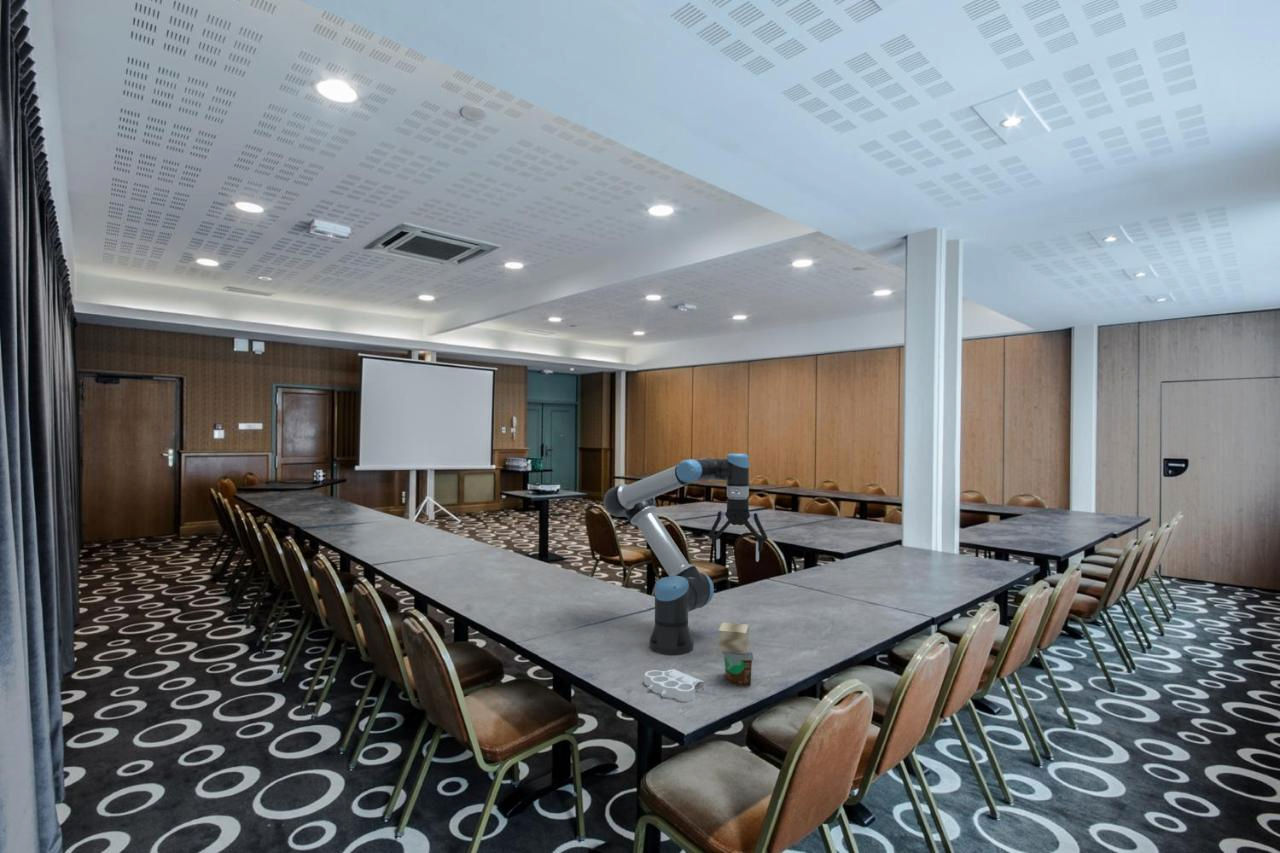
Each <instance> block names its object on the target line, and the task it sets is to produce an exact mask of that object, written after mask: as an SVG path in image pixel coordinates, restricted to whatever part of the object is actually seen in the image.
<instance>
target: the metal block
mask: <svg viewBox="0 0 1280 853" xmlns="http://www.w3.org/2000/svg"><path fill="white" fill-rule="evenodd" d="M749 626H750V625H749V624H745V623H744V624H743V623H733V622H721V624H720V627H719V628H718V651H719V652H722V651H725V652H735V653H745V654H746V652H748V648H749V644H750V643H749V640H750V639H749V636H750V635H749V628H750V627H749Z"/></svg>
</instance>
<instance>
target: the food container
mask: <svg viewBox="0 0 1280 853" xmlns="http://www.w3.org/2000/svg"><path fill="white" fill-rule="evenodd" d="M721 653H722V655H724V668H725V669H724V670H725V680H726V681H727V682H728V683H729V684H732V685H735V686H742V687H745V686H746V687H747V686H751V682H752V680H751V679H752V667H753V665H752V664H753V663H752V662H753V660H754V655H753V652H752V651H751V652H748V651H746V654H745V653H735V652H725V651H721Z"/></svg>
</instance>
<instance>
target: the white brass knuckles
mask: <svg viewBox="0 0 1280 853" xmlns="http://www.w3.org/2000/svg"><path fill="white" fill-rule="evenodd" d="M643 678H644V683H643V684H645V685H647V686H646V687H647V689H649V690H650V691H651V690H652V691H653V692H657V693H659V694H658V695H660V694H661V695H660V696H661V697H662V696H664V697H663V698H665V697H669V698H668V699H672V698H675V699H674V700H676V699H677V700H676V701H678V700H679V701H678V702H680V701H688V702H691V700H692V701H694V699H695V698H696V697H695V696H696V695H695V694H696V693H697V692H699V691H701V690H702V689H704V688H705V685H706V684H705V681H703V679H698V678H696V677H694V676H691V675H689V674H687V673H684V672H682V671H679V670H678V669H674V668H672V669H668V670H660V669H659V670H658V669H657V670H656V669H654V670H647V671H645V673H644V677H643ZM645 685H644V686H645ZM648 686H649V687H648ZM652 691H651V692H652ZM653 692H652V693H653ZM657 693H656V694H657Z"/></svg>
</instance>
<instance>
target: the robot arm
mask: <svg viewBox="0 0 1280 853" xmlns="http://www.w3.org/2000/svg"><path fill="white" fill-rule="evenodd" d="M749 460H750V459H749V456H748V454H747V453H728V454H727V455H726V458H710V457H704V458H698V459H697V458H696V459H691V458H689V459H684V460H682V461H680V462H679V463H678V464H677V465H674V466H672V467H669V468H667V469H665V470H662V471H659V472H657V473H655V474H653V475H650V476H648V477H644V478H642V479H640V480H637V481H634V482H632V483H630V484H626V483H622V484H620V485H618V486H614V487H611V488H610V489H608V491H606V492H605V495H604V498H603V506H604V509H605V510H606V512H607V513H609V514H610V515H611V516H613V517H618V518H619V517H620V518H621V517H626V518H627V519H628V521H629V523H630V524H631V525H634V526H636V527H637V528H638V529H639V531H640V533H641V534H642V536H643V537H644V539H645V540H646V542H647V544H648V545H649V547H650V548H651V550H652V552H653V553H654V555H655V557H657V559H658V560H659V563H660V564H661V566H662V567H663V569H664V570H665V572H666V573H667V575H668V576H665V577H662V578H659V579H658V580H657V581H656V582H655V585H654V593H653V594H654V595H653V596H654V626H653V629H652V632H651V636H650V638H649V649H650V650H652V651H653V652H654V653H655V652H656V653H659V654H662V655H671V656H672V655H684V654H688V653H689V652H692V651H693V649H694V639H693V637H692V633H691V629H690V626H689V612H691V611H692V612H693V611H694V610H697V609H701V608H703V607H705V606H706V605H708V604H709V603H710V602H711V601H712V599H713V597H714V590H715V588H714V583H713V581H712V579H711V577H710V576H709V575H707V574H706V573H702V572H700V571H699V570H698V569H697V566H696V565H695V564H689V562H688V560H687V559H686V558H685V556H684V555H683V553H682V552H681V550H680V548H679V547H678V545H677V544H676V543H675V540H673V538H672V536H671V535H670V533H669V532H668V530H667V529H666V527H665V526H664V524H663V523H662V521H661V520H660V518H659V517H658V515H657V514H656V511H657V507H656V501H655V499H656V497H658V496H661V495H663V494H666V493H668V492H672V491H674V490H677V489H680V488H682V487H684V486H687V485H690V484H693V483H696V482H703V481H717V480H718V481H726V497H727V499H726V511H722V510H718V511H717V515H716V516H717V517H716V519H715V521H714V523H713V525H712V527H711V528H710V531H709V533H708V535H707V537H708V538H710V539H712V540H713V549H715V550H716V552H715V553H716V554H715V556H716V560H719V559H720V558H721V539H720V538H719V537H720V536H721V535H722V534H723V532H724V531H725V530H726V529H727V528H728V527H729V526H730V524H731V525H733V526H743V525H744V526H745V527H746V528H747V529H748V531H749V532H750V533H751V534H752V535H753V537H754V538H755V539H756V541H755V562H759V560H760V552H762V550H763V542H766V541H767V540H768V538H769V537H768V535H767V533H766V531H765V529H764V526H763V525H762V523H761V521H760V518H759V513H758V512H753V513H750V511H749V510H750V505H749V504H750V502H749V501H750V499H749V496H750V495H749V493H750V491H749V490H750V485H749V484H750V483H749V482H750V481H749V478H750V477H749V476H750V475H749V474H750V473H749V472H750V471H749V470H750V463H749ZM724 517H726V519H727V521H726V522H725V523H724V525H723V526H721V528H720V529H719V530H718V531H717V532H716V530H717V528H718V526H719V524H720V522H721V520H722V519H723V518H724ZM750 517H751V519H752V520H754V523H755V525H756V527H757V529H758V531H759V533H758V531H757V530H756V528H754V527H753V525H752V524H751V523H750V521H749V518H750ZM715 532H716V533H715Z"/></svg>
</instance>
